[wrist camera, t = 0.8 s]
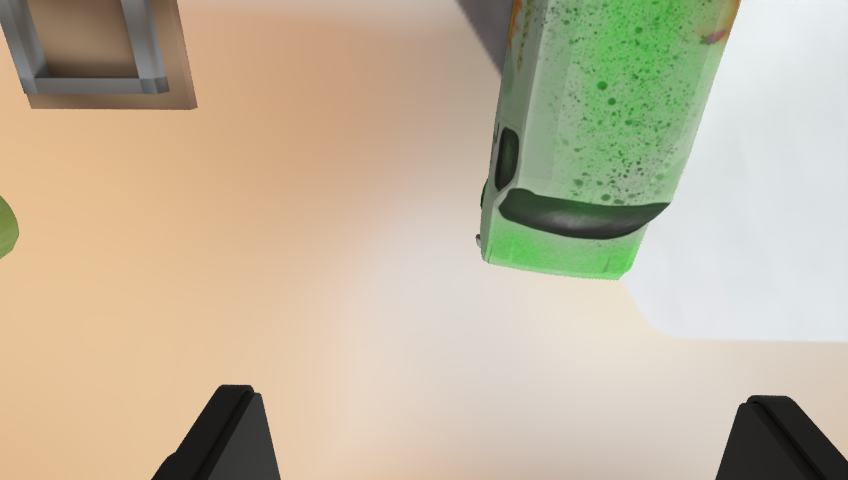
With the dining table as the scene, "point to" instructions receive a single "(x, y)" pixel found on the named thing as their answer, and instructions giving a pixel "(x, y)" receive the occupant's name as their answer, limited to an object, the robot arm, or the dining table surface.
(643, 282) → the dining table surface
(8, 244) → the plant pot
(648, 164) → the toy car
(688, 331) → the dining table surface
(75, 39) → the board
